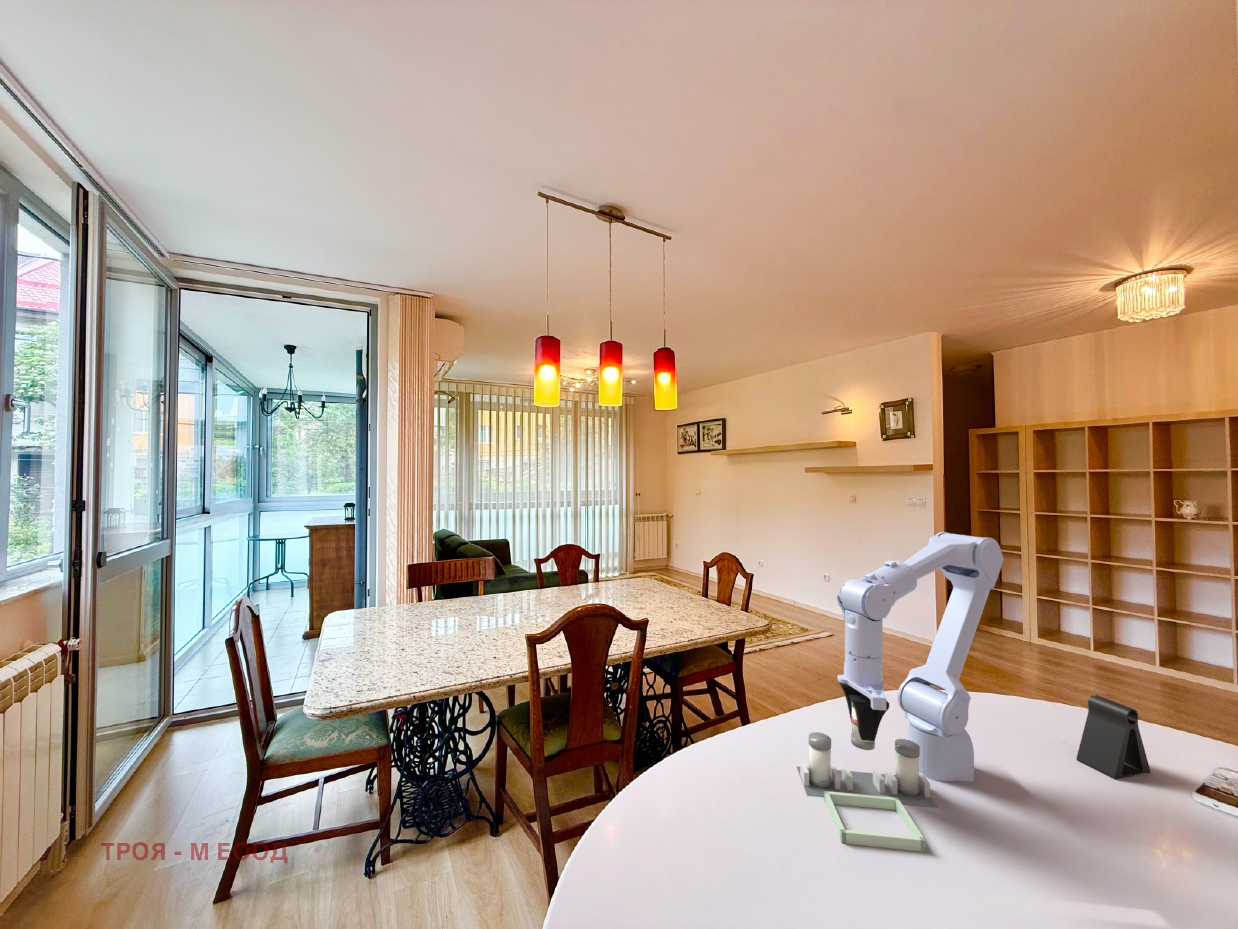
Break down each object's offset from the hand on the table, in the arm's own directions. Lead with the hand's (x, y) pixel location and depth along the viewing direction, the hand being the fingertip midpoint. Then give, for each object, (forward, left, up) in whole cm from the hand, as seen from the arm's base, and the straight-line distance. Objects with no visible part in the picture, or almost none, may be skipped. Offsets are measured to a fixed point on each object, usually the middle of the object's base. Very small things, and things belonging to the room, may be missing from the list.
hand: (863, 733), depth 84 cm
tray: (+2, +9, -10) cm, 14 cm away
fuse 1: (+7, 0, -9) cm, 11 cm away
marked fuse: (0, 0, -2) cm, 2 cm away
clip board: (0, 0, -10) cm, 10 cm away
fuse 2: (-7, 0, -9) cm, 11 cm away
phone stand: (-49, -15, -10) cm, 52 cm away
